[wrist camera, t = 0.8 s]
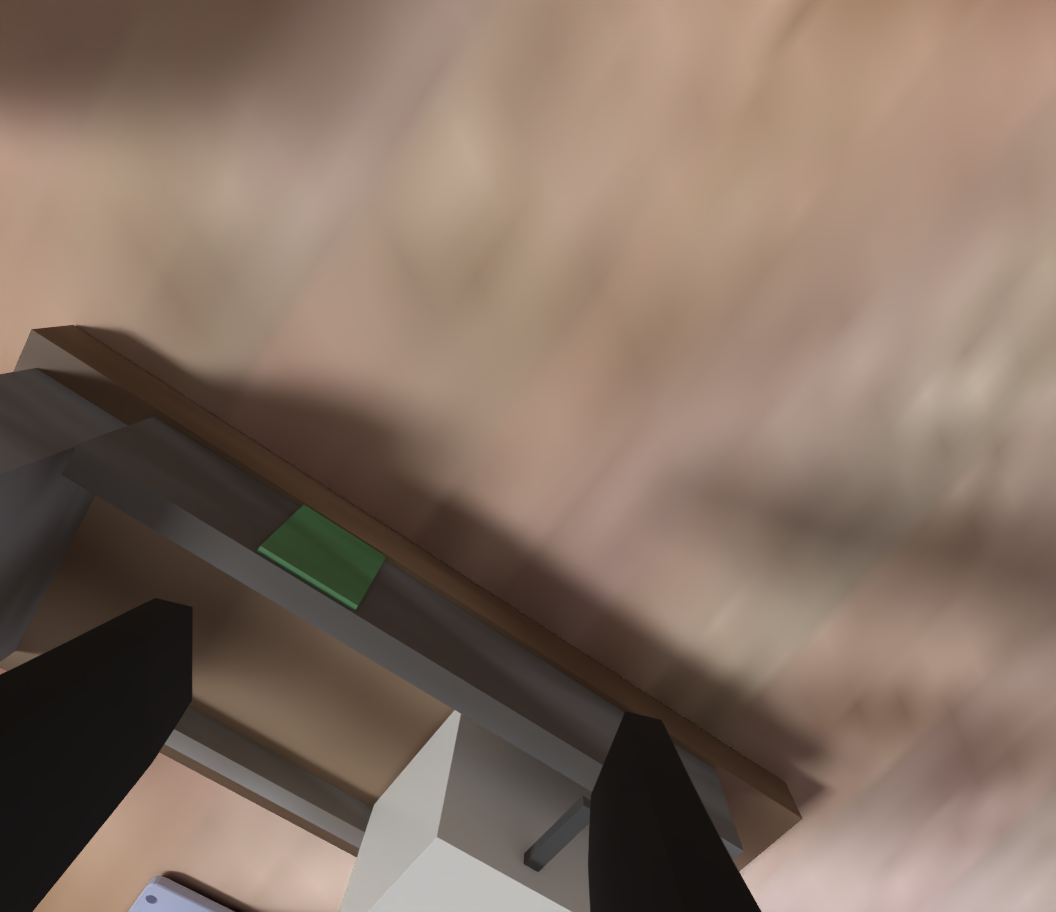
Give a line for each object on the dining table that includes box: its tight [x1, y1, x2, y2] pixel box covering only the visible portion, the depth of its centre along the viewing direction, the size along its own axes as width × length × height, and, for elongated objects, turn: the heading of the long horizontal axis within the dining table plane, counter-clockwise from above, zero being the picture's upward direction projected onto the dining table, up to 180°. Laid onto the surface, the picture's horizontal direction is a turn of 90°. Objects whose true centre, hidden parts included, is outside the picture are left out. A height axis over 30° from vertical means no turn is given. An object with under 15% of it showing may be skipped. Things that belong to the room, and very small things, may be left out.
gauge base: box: [0, 325, 802, 871], centre depth 18 cm, size 12×30×8 cm, turn 54°
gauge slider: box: [339, 710, 592, 912], centre depth 18 cm, size 9×6×5 cm
